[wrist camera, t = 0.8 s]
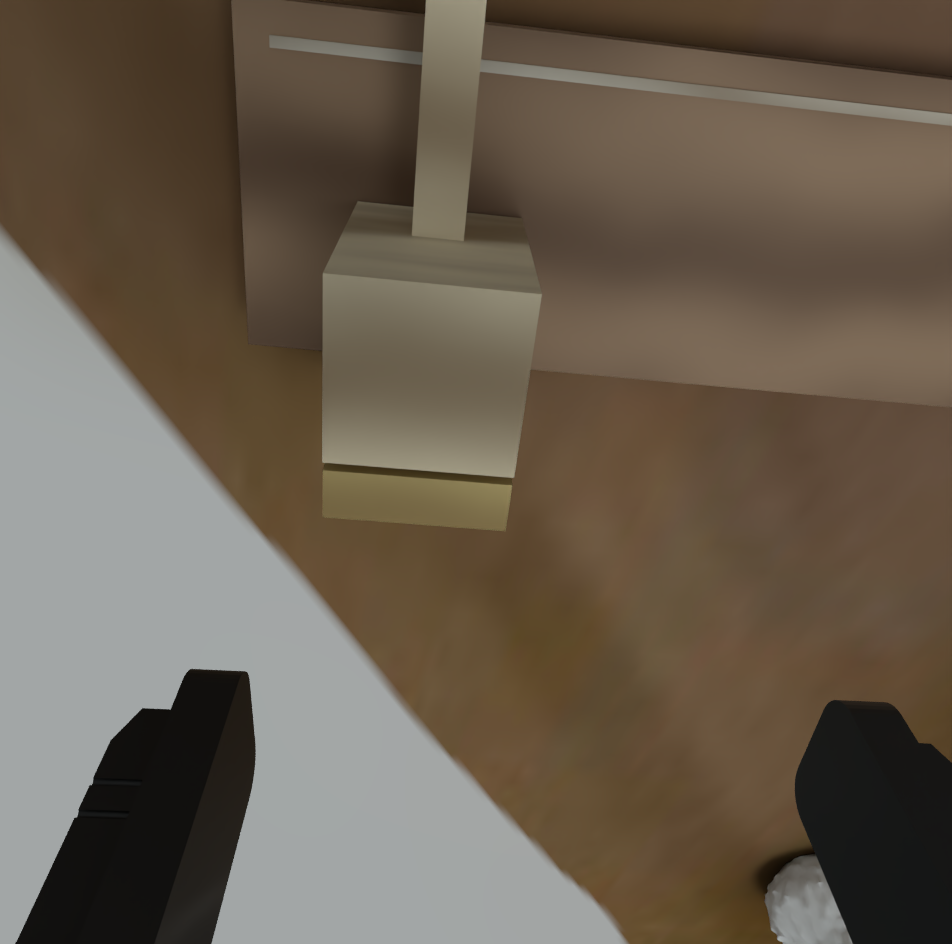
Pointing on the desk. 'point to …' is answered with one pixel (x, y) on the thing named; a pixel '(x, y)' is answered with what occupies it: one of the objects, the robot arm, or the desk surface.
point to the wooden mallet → (429, 323)
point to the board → (625, 196)
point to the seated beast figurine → (804, 905)
